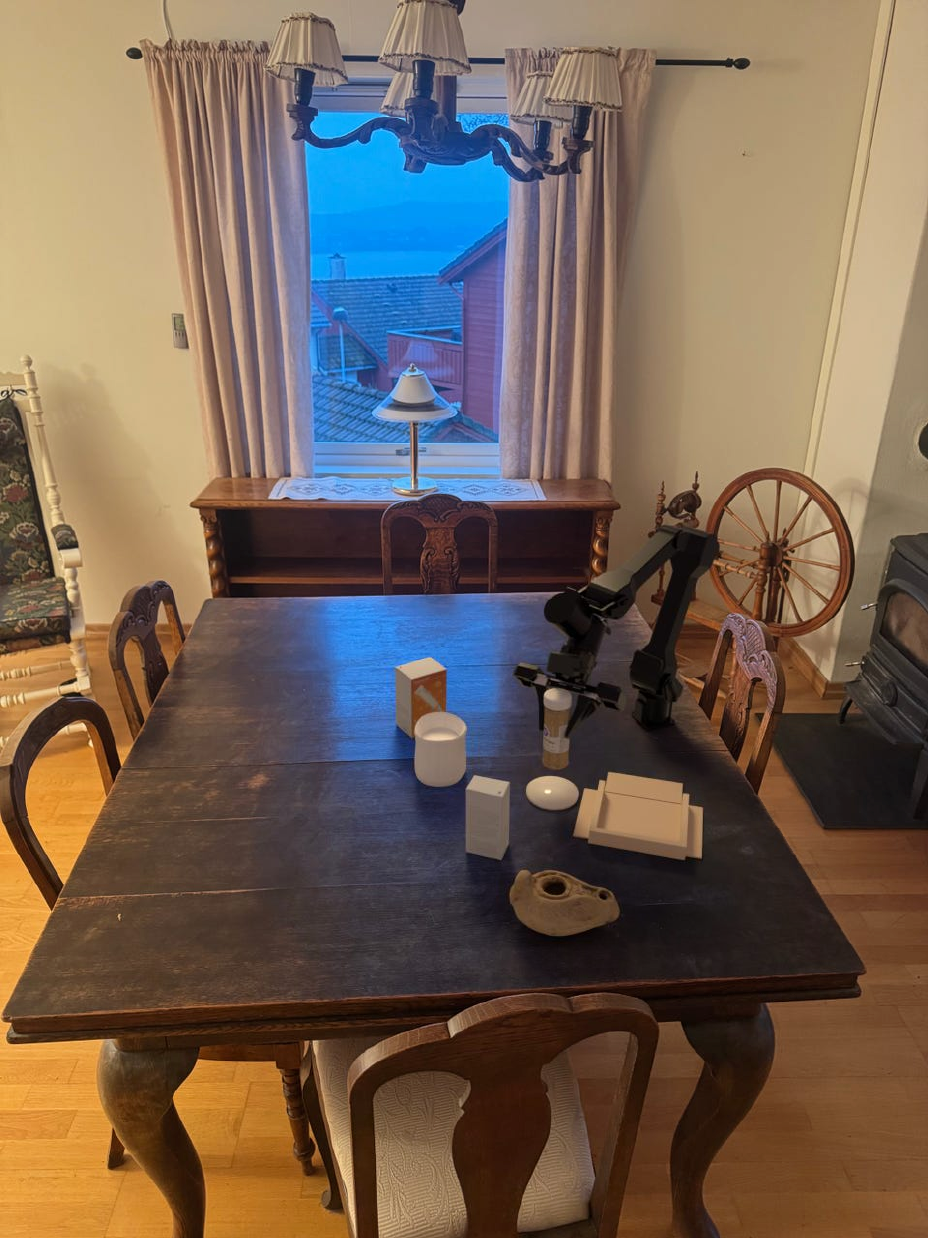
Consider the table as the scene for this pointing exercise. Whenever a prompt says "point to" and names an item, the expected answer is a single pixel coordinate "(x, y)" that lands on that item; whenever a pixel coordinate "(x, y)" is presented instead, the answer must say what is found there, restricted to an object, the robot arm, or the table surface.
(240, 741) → the table surface
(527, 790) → the coaster
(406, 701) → the small box
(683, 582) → the robot arm
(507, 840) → the skincare box
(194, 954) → the table surface
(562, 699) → the sprinkles bottle
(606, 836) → the carton
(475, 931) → the table surface
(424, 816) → the table surface
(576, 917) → the oil lamp
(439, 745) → the cup
